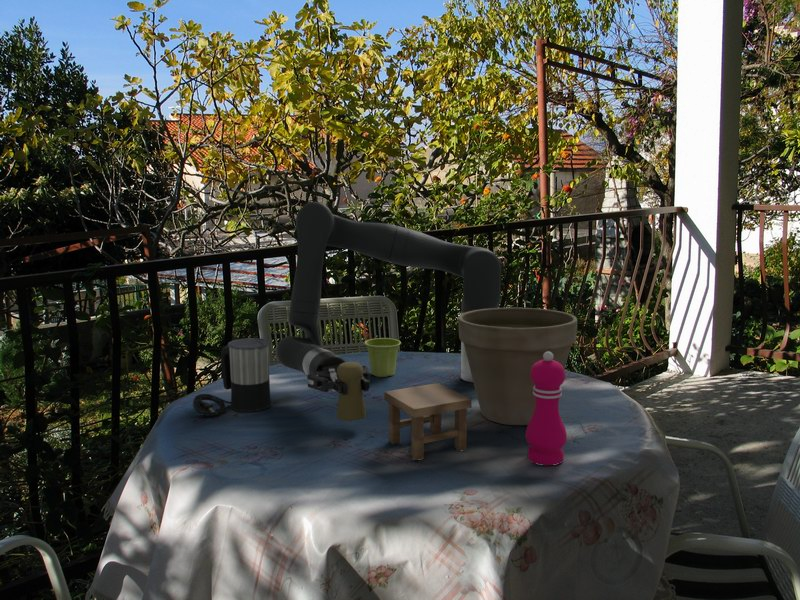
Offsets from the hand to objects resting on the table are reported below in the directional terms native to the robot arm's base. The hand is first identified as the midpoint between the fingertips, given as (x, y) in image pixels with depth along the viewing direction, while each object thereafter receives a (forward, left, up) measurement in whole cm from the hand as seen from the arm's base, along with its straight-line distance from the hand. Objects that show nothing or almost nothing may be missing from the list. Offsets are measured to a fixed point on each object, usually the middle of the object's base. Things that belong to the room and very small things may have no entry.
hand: (356, 388), depth 137 cm
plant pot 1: (-17, -41, -10) cm, 45 cm away
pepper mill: (-29, +23, -10) cm, 39 cm away
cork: (0, -3, -7) cm, 7 cm away
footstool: (-11, +10, -10) cm, 18 cm away
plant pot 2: (-35, -1, -10) cm, 37 cm away
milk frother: (+22, -24, -10) cm, 34 cm away
